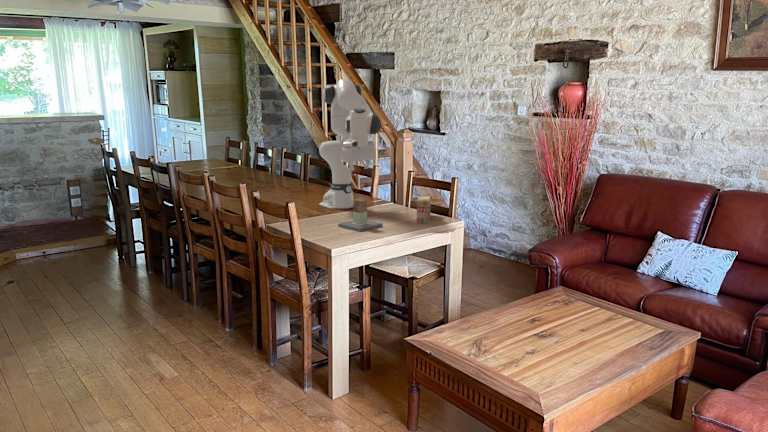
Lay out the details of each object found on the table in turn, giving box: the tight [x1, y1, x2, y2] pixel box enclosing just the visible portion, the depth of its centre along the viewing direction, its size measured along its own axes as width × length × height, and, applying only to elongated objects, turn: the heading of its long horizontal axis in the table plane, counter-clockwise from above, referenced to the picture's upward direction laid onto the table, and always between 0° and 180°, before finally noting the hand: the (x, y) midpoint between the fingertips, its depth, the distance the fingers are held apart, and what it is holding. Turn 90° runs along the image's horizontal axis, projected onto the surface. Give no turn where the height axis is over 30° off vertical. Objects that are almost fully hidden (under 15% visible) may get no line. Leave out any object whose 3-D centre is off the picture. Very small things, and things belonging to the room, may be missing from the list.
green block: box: [352, 211, 368, 225], centre depth 313 cm, size 5×5×6 cm
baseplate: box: [337, 219, 383, 232], centre depth 314 cm, size 16×16×2 cm
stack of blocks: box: [416, 195, 432, 225], centre depth 328 cm, size 21×6×12 cm, turn 173°
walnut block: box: [352, 198, 368, 213], centre depth 311 cm, size 5×5×6 cm
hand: (359, 169), depth 307 cm, fingers open, 8 cm apart
